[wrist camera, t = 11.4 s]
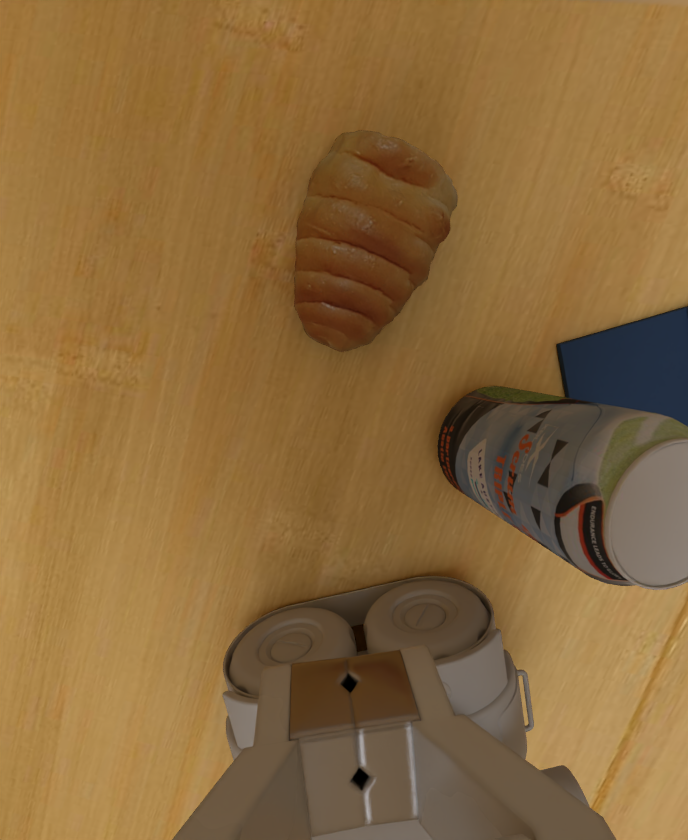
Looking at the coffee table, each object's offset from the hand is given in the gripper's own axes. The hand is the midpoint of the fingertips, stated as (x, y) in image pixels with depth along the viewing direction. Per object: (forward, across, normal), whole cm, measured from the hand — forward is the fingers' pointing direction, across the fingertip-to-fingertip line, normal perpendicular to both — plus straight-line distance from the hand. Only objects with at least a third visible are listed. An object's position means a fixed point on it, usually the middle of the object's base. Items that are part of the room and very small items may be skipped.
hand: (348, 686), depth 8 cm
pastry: (+17, -4, -10) cm, 20 cm away
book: (+17, -19, 0) cm, 25 cm away
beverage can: (+17, -10, 0) cm, 20 cm away
